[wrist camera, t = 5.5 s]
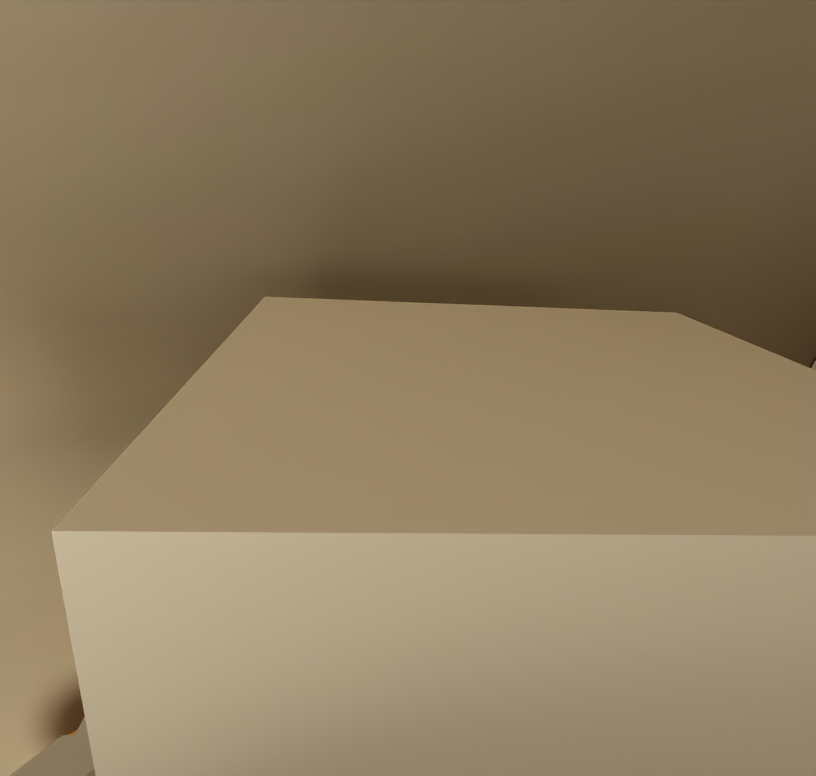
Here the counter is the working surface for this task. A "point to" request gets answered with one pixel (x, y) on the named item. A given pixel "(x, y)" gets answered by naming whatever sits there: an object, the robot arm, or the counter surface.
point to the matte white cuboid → (456, 552)
